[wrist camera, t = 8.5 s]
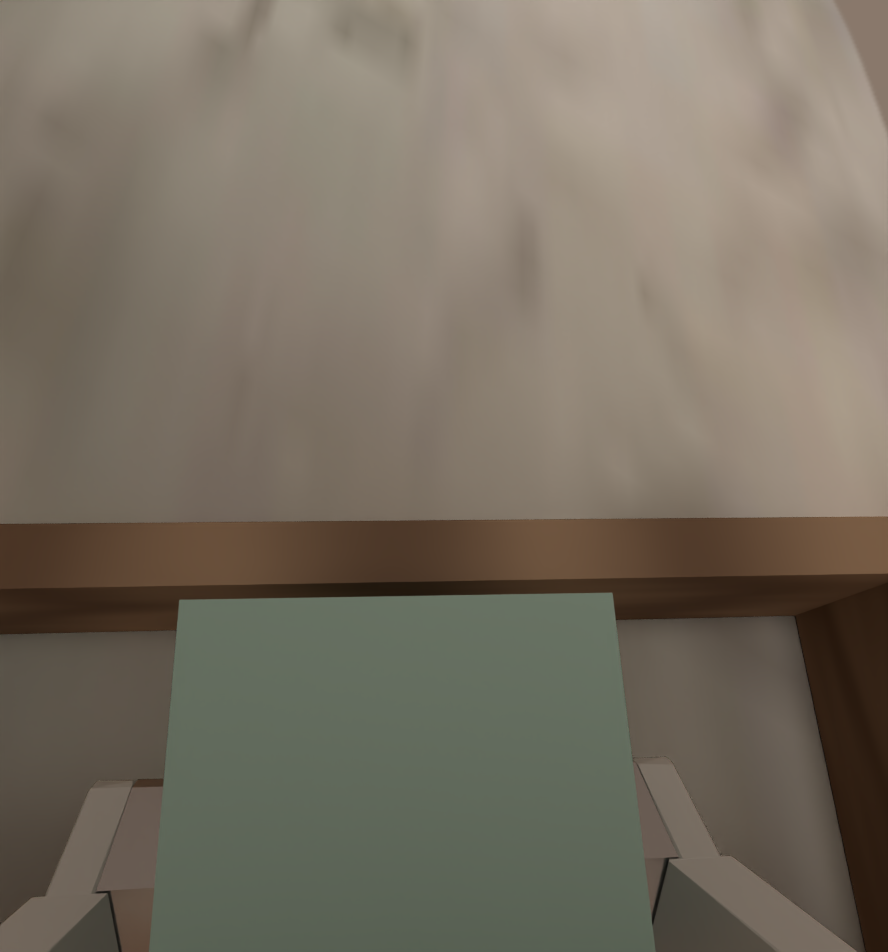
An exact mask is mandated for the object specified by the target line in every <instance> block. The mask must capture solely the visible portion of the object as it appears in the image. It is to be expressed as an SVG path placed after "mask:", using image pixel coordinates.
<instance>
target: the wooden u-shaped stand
mask: <svg viewBox="0 0 888 952" xmlns="http://www.w3.org/2000/svg"><path fill="white" fill-rule="evenodd" d="M563 593H613V601H614V610H615V618H616V620H626V619H668V618H710V617H753V616H796V621H797V626H798V630H799V635H800V640H801V645H802V649H803V654H804V659H805V664H806V668H807V673H808V678H809V682H810V687H811V692H812V697H813V701H814V706H815V711H816V716H817V720H818V725H819V730H820V735H821V739H822V744H823V749H824V754H825V758H826V763H827V768H828V773H829V777H830V782H831V787H832V791H833V796H834V801H835V806H836V810H837V815H838V820H839V825H840V829H841V834H842V839H843V844H844V848H845V853H846V858H847V863H848V867H849V872H850V877H851V882H852V886H853V891H854V896H855V900H856V905H857V910H858V915H859V919H860V924H861V929H862V934H863V938H864V943H865V948H866V952H888V517H781V518H663V519H544V520H426V521H307V522H189V523H70V524H0V634H32V633H74V632H117V631H159V630H177V621H178V609H179V600H198V599H259V598H320V597H380V596H441V595H502V594H563Z"/></svg>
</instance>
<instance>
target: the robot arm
mask: <svg viewBox="0 0 888 952" xmlns="http://www.w3.org/2000/svg"><path fill="white" fill-rule="evenodd" d="M632 759H633V768H634V776H635V784H636V793H637V801H638V809H639V818H640V826H641V834H642V843H643V851H644V859H645V867H646V876H647V884H648V892H649V901H650V909H651V917H652V926H653V934H654V942H655V951H656V952H857V951H856V950H854V949H853V948H852V947H851V946H849V945H848V944H847V943H845V942H844V941H843V940H841V939H840V938H839V937H837V936H836V935H835V934H833V933H832V932H831V931H830V930H828V929H827V928H826V927H824V926H823V925H822V924H820V923H819V922H818V921H816V920H815V919H814V918H812V917H811V916H810V915H809V914H807V913H806V912H805V911H803V910H802V909H801V908H799V907H798V906H797V905H795V904H794V903H793V902H791V901H790V900H789V899H787V898H786V897H785V896H784V895H782V894H781V893H780V892H778V891H777V890H776V889H774V888H773V887H772V886H770V885H769V884H768V883H766V882H765V881H764V880H763V879H761V878H760V877H759V876H757V875H756V874H755V873H753V872H752V871H751V870H749V869H748V868H747V867H745V866H744V865H743V864H742V863H740V862H739V861H738V860H736V859H735V858H734V857H732V856H720V854H719V852H718V850H717V848H716V846H715V844H714V842H713V840H712V838H711V836H710V834H709V832H708V831H707V829H706V827H705V825H704V823H703V821H702V819H701V817H700V815H699V813H698V811H697V809H696V807H695V805H694V803H693V801H692V799H691V798H690V796H689V794H688V792H687V790H686V788H685V786H684V784H683V782H682V780H681V778H680V776H679V774H678V772H677V770H676V768H675V767H674V765H673V763H672V761H670V760H669V759H668V758H667V757H651V758H632ZM163 782H164V779H138V780H112V781H96V783H95V784H94V785H93V786H92V787H91V789H90V790H89V791H88V793H87V795H86V798H85V800H84V803H83V805H82V807H81V810H80V812H79V815H78V817H77V819H76V822H75V824H74V827H73V829H72V831H71V834H70V836H69V839H68V841H67V843H66V846H65V848H64V851H63V853H62V856H61V858H60V860H59V863H58V865H57V868H56V870H55V872H54V875H53V877H52V880H51V882H50V884H49V887H48V889H47V892H46V894H45V896H43V897H31V898H30V899H29V900H28V901H27V902H26V903H25V904H23V905H22V906H21V907H20V908H19V909H18V910H17V911H15V912H14V913H13V914H12V915H11V916H10V917H9V918H8V919H6V920H5V921H4V922H3V923H2V924H1V925H0V952H149V944H150V932H151V921H152V909H153V898H154V886H155V875H156V863H157V852H158V840H159V828H160V817H161V805H162V794H163Z"/></svg>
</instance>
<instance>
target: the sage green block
mask: <svg viewBox="0 0 888 952" xmlns="http://www.w3.org/2000/svg"><path fill="white" fill-rule="evenodd" d="M149 952H656V951H655V942H654V934H653V926H652V917H651V909H650V901H649V892H648V884H647V876H646V867H645V859H644V851H643V843H642V834H641V826H640V818H639V809H638V801H637V793H636V784H635V776H634V768H633V759H632V751H631V743H630V734H629V726H628V718H627V710H626V701H625V693H624V685H623V676H622V668H621V660H620V651H619V643H618V635H617V626H616V618H615V610H614V601H613V593H563V594H502V595H441V596H380V597H320V598H259V599H198V600H179V609H178V621H177V632H176V644H175V655H174V667H173V678H172V690H171V702H170V713H169V725H168V736H167V748H166V759H165V771H164V782H163V794H162V805H161V817H160V828H159V840H158V852H157V863H156V875H155V886H154V898H153V909H152V921H151V932H150V944H149Z"/></svg>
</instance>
